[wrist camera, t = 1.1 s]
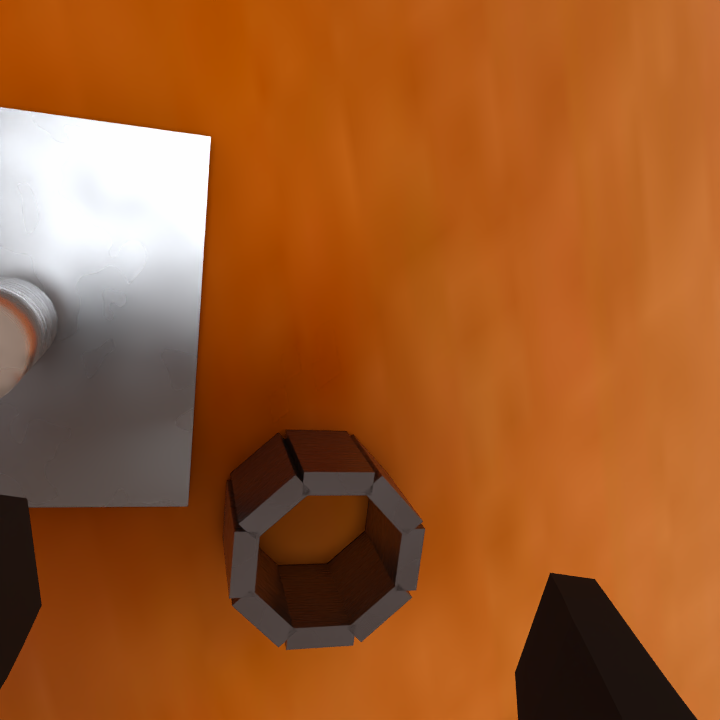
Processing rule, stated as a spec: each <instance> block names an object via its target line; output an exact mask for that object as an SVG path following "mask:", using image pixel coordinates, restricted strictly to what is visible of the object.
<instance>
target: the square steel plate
mask: <svg viewBox="0 0 720 720" xmlns="http://www.w3.org/2000/svg"><path fill="white" fill-rule="evenodd" d="M210 141H211V137H209V136H202V135H195V134H187V133H180V132H173V131H166V130H159V129H152V128H145V127H137V126H130V125H123V124H116V123H109V122H102V121H95V120H87V119H80V118H73V117H66V116H59V115H52V114H45V113H37V112H30V111H23V110H16V109H9V108H2V107H0V494H1V495H8V496H15V497H22V498H27V501H28V507H171V506H188V497H189V481H190V465H191V448H192V432H193V416H194V400H195V384H196V368H197V351H198V335H199V319H200V303H201V287H202V270H203V254H204V238H205V222H206V206H207V189H208V173H209V157H210Z"/></svg>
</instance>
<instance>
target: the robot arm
mask: <svg viewBox="0 0 720 720" xmlns="http://www.w3.org/2000/svg"><path fill="white" fill-rule="evenodd" d="M41 606H42V604H41V597H40V590H39V582H38V575H37V567H36V560H35V553H34V545H33V538H32V530H31V523H30V515H29V508H28V501H27V498H22V497H15V496H8V495H1V494H0V689H1V687H2V685H3V684H4V682H5V680H6V679H7V677H8V675H9V673H10V671H11V669H12V667H13V665H14V663H15V661H16V659H17V657H18V655H19V653H20V651H21V649H22V647H23V645H24V642H25V640H26V638H27V636H28V634H29V632H30V629H31V627H32V625H33V623H34V621H35V619H36V616H37V614H38V612H39V610H40V608H41ZM515 680H516V694H517V709H518V720H697V718H696V717H695V716H694V714H693V713H692V712H691V711H690V709H689V708H688V707H687V705H686V704H685V703H684V701H683V700H682V699H681V697H680V696H679V695H678V693H677V692H676V691H675V689H674V688H673V687H672V685H671V684H670V683H669V681H668V680H667V679H666V677H665V676H664V675H663V673H662V672H661V670H660V669H659V668H658V666H657V665H656V663H655V662H654V661H653V659H652V658H651V657H650V655H649V654H648V652H647V651H646V650H645V648H644V647H643V646H642V644H641V643H640V641H639V640H638V639H637V637H636V636H635V634H634V633H633V632H632V630H631V629H630V627H629V626H628V625H627V623H626V622H625V620H624V619H623V618H622V616H621V615H620V613H619V612H618V611H617V609H616V608H615V607H614V605H613V604H612V602H611V601H610V600H609V598H608V597H607V595H606V594H605V593H604V591H603V590H602V588H601V587H600V586H599V584H598V583H597V582H596V580H595V579H590V578H583V577H576V576H569V575H562V574H555V573H550V575H549V578H548V581H547V584H546V586H545V589H544V592H543V595H542V598H541V601H540V603H539V606H538V609H537V612H536V615H535V618H534V620H533V623H532V626H531V629H530V632H529V635H528V637H527V640H526V643H525V646H524V649H523V652H522V654H521V657H520V660H519V663H518V666H517V669H516V671H515Z"/></svg>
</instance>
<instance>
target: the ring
mask: <svg viewBox="0 0 720 720" xmlns="http://www.w3.org/2000/svg"><path fill="white" fill-rule="evenodd" d="M307 495H367V496H368V497H369V503H368V511H367V520H366V528H365V532H364V533H362V534H361V535H360V536H359V537H358V538H357V539H356V540H354V541H353V542H352V543H351V544H350V545H349V546H347V547H346V548H345V549H344V550H343V551H342V552H341V553H339V554H338V555H337V556H336V557H335V558H334V559H333V560H331V561H330V562H329V563H328V564H313V565H281V566H278V565H277V564H276V563H275V562H274V561H272V560H271V559H270V558H269V557H268V556H267V555H266V554H265V553H264V552H263V551H262V550H261V549H260V548H259V537H260V536H261V535H262V534H263V533H264V532H265V531H266V530H268V529H269V528H270V527H271V526H272V525H273V524H275V523H276V522H277V521H278V520H279V519H280V518H282V517H283V516H284V515H285V514H286V513H287V512H289V511H290V510H291V509H292V508H293V507H294V506H295V505H297V504H298V503H299V502H300V501H301V500H302V499H304V498H305V497H306V496H307ZM422 522H423V521H422V520H421V518H420V517H419V515H418V514H417V513H416V511H415V510H414V509H413V507H412V506H411V504H410V503H409V502H408V500H407V499H406V498H405V496H404V495H403V494H402V492H401V491H400V489H399V488H398V487H397V485H396V484H395V483H394V481H393V480H392V479H391V477H390V476H389V474H388V473H387V472H386V471H385V470H384V469H383V468H382V467H381V465H380V464H379V463H378V462H377V461H376V460H375V459H374V457H373V456H372V455H371V454H370V453H369V452H368V451H367V449H366V448H365V447H364V446H363V445H362V444H361V443H360V442H359V440H358V439H357V438H356V437H355V436H354V435H352V436H349V434H348V433H347V431H314V430H286V436H285V439H284V438H283V437H282V436H281V435H280V434H279V433H277V434H276V435H275V436H274V437H273V438H272V439H270V440H269V441H268V442H267V443H266V444H265V445H263V446H262V447H261V448H260V449H259V450H257V451H256V452H255V453H254V454H253V455H252V456H250V457H249V458H248V459H247V460H246V461H245V462H243V463H242V464H241V465H240V466H239V467H238V468H236V469H235V470H234V471H233V472H232V473H231V480H227V485H226V498H225V512H224V525H223V546H224V555H225V564H226V574H227V583H228V592H229V598H231V600H232V606H233V607H234V608H235V609H236V610H238V611H239V612H240V613H241V614H242V615H243V616H244V617H245V618H246V619H248V620H249V621H250V622H251V623H252V624H253V625H254V626H255V627H257V628H258V629H259V630H260V631H261V632H262V633H263V634H264V635H265V636H267V637H268V638H269V639H270V640H271V641H272V642H273V643H274V644H275V645H277V646H278V647H279V646H281V645H282V644H283V643H284V642H285V646H286V650H290V649H305V648H321V647H336V646H351V645H353V643H354V636H355V637H356V638H357V639H359V640H360V641H361V642H362V641H363V640H364V639H365V638H366V637H367V636H369V635H370V634H371V633H372V632H373V631H374V630H375V629H377V628H378V627H379V626H380V625H381V624H382V623H383V622H384V621H386V620H387V619H388V618H389V617H390V616H391V615H392V614H394V613H395V612H396V611H397V610H398V609H399V608H400V607H402V606H403V605H404V604H405V603H406V602H407V601H408V600H410V599H411V598H412V597H411V595H410V593H409V591H410V590H416V587H417V580H418V573H419V566H420V559H421V553H422V546H423V539H424V532H425V528H424V527H423V525H422V524H421V523H422Z"/></svg>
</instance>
